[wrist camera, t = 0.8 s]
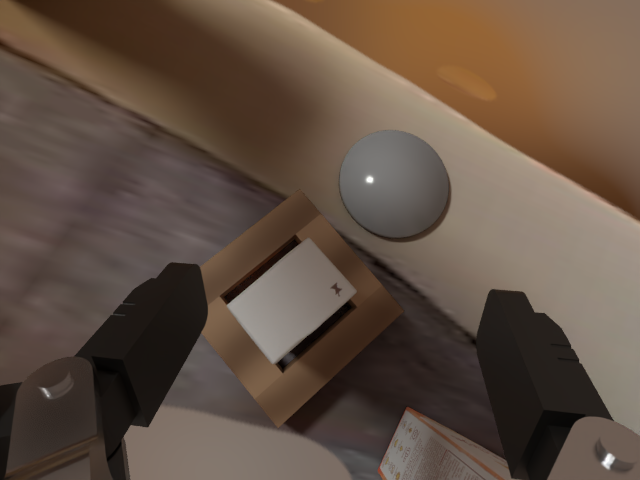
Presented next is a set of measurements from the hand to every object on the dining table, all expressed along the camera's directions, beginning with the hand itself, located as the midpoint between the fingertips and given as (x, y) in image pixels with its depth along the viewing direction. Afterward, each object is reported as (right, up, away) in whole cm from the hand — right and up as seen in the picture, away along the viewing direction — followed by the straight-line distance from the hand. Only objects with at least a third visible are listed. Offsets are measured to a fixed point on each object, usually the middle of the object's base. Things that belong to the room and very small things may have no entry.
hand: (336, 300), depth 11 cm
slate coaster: (+6, +7, +24) cm, 26 cm away
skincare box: (-3, -4, +22) cm, 22 cm away
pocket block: (-3, -3, +21) cm, 22 cm away
